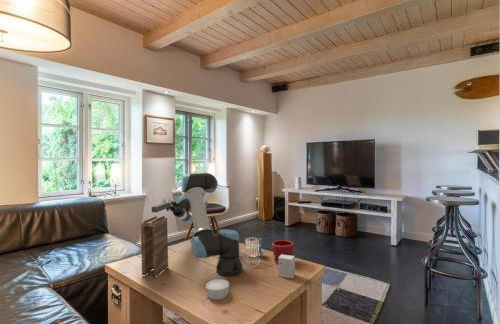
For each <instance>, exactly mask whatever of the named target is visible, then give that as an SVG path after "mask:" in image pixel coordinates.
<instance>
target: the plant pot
mask: <svg viewBox="0 0 500 324" xmlns="http://www.w3.org/2000/svg"><path fill="white" fill-rule="evenodd" d="M271 244H272V247H271V248H272V254H273V256H274V257H273V261H274V263H276V264H278V257H279V256H280V255H281V254H283V255H290V256H294V242H292V241H290V240H283V239H281V240H275V241H272V242H271Z"/></svg>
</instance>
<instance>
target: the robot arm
mask: <svg viewBox="0 0 500 324" xmlns="http://www.w3.org/2000/svg"><path fill="white" fill-rule="evenodd" d="M181 179H182V180H181V192H182V193H183V194H185V195H184V196H183V195H181V196H179V197H177V201H174V200H172V199H171V198H168V200H166V199H165V198H163V199H162V202H161V203H164V202H167V201H168V203H169V204H170V205H171V206H172V207H169V208H167V209H165V210H166V211H167V212H169V211H170V212H171V213H172V214H173V215H174V216H175V217H176V218H177V219H179V221H181V222H182V223H184V224H189V223H190V222H191V221H193V222H192V223H193V227H194V233H193V235H192V238H191V240H190V245H191V251H192V253H193V255H194V257H195V258H197V259H206V258H210V257H215V256H218V261H217V262H216V263H217V264H216V269H215V270H216V274H218V275H219V276H223V277H233V276H237V275H239V274H241V273H242V272H243V264H242V260H241V258H240V235H239V232H238V231H236V230H233V229H228V228H225V229H224V228H223V229H219V230H218V231H217V232H218V233H215V232H214V230H213V229H212V228H211V227H210V221H209V218H208V213H207V207H208V200H209V197H210V196H211V195H212V194H213V193H214V192H215V191H216V190H217V188H218V185H219V184H218V183H219V182H218V180H217V178H216V177H215V176H214V175H213V174H211V173H208V172H199V173H197V172H196V173H185V174H183V176H182V178H181ZM190 212H191V213H190Z"/></svg>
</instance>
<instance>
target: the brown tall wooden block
mask: <svg viewBox="0 0 500 324" xmlns="http://www.w3.org/2000/svg"><path fill="white" fill-rule="evenodd" d="M168 233H169V232H168V217H166V216H165V215H162V216H161V217H158V216H157V215H154V216H152V217H150V218H147V219H144V220H143V221H142V222H140V237H141V238H140V240H141V241H140V242H141V243H140V244H141V246H140V247H141V248H140V249H141V251H140V252H141V276H142V275H146V274H147V273H149V272H150V271H151V270H152V269H154V270H153V277H154V276H158V275H159V274H160V273H161V272H162V271H163V270H165V269H166V268H167V267H168V268H169V249H168V248H169V247H168V246H169V245H168V244H169V241H168V235H169V234H168ZM168 268H167V269H168ZM167 269H166V270H167ZM166 270H165V271H166ZM149 274H150V273H149ZM159 276H160V275H159ZM159 276H158V277H159Z"/></svg>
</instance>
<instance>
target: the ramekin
mask: <svg viewBox="0 0 500 324" xmlns="http://www.w3.org/2000/svg"><path fill="white" fill-rule="evenodd" d="M229 288H230V282H229V281H228V280H226V279H223V278H222V279H221V278H217V279H212V280H209V281H208V282H206V284H205V289H206V294H207V297H208V298H209V299H211V300H214V301H215V300H216V301H219V300H223V299H225V298H226V297H227V296H228V294H229Z"/></svg>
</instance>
